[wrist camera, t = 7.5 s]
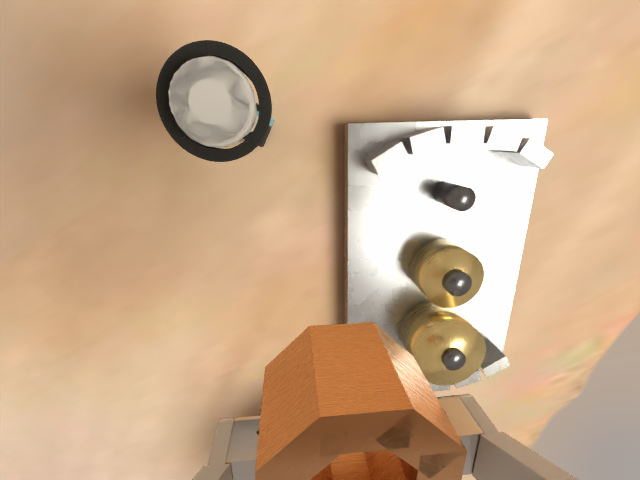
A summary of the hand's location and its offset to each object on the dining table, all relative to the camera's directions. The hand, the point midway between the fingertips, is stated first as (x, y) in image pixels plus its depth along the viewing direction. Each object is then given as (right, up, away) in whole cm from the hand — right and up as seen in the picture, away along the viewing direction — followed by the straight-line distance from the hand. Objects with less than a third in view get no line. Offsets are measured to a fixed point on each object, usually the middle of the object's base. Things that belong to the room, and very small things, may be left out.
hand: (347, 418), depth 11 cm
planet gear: (0, 0, +2) cm, 2 cm away
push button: (-8, +16, +12) cm, 22 cm away
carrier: (+9, +5, +17) cm, 20 cm away
